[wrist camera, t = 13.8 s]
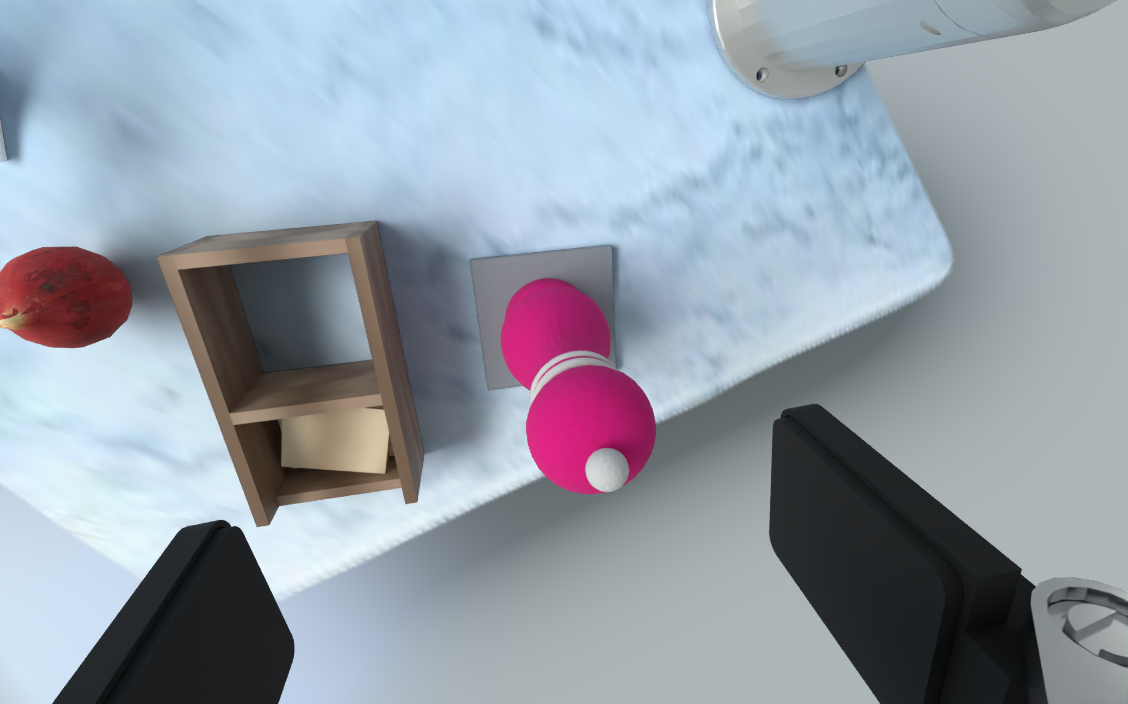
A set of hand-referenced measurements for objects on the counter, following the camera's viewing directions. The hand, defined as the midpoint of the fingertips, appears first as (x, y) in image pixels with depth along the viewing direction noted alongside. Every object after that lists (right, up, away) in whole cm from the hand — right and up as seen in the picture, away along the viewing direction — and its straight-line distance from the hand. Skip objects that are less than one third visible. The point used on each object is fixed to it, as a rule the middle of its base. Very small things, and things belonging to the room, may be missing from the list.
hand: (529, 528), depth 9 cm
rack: (-16, +3, +29) cm, 34 cm away
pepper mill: (-1, +6, +30) cm, 31 cm away
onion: (-29, +8, +25) cm, 39 cm away
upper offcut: (-16, -2, +30) cm, 34 cm away
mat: (-1, +6, +31) cm, 31 cm away
